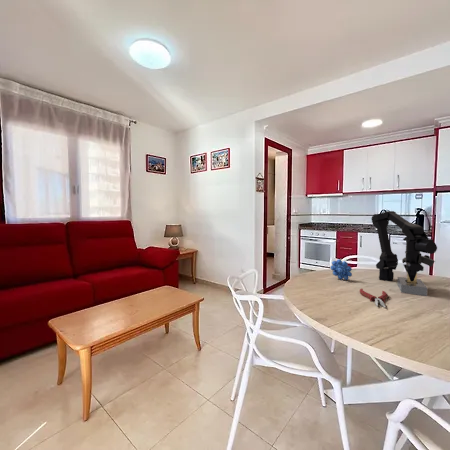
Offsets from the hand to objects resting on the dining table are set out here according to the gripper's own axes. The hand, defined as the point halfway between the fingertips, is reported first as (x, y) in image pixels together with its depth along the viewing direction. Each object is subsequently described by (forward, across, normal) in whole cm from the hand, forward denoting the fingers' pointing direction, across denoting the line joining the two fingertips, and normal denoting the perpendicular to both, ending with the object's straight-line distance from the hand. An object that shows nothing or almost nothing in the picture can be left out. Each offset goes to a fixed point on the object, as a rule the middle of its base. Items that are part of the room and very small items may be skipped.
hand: (411, 280), depth 124 cm
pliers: (+6, -25, +18) cm, 31 cm away
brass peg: (+2, 0, 0) cm, 2 cm away
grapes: (+5, +1, +33) cm, 33 cm away
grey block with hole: (+5, 0, 0) cm, 5 cm away
